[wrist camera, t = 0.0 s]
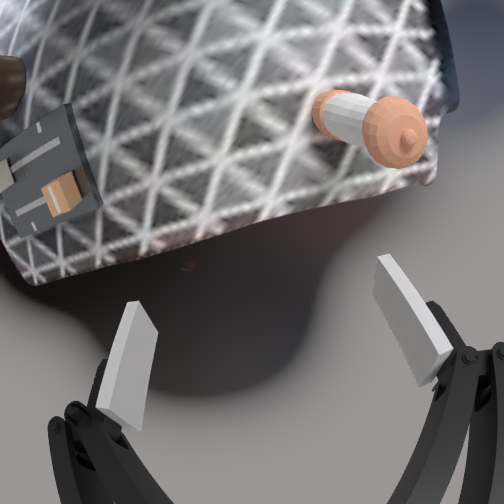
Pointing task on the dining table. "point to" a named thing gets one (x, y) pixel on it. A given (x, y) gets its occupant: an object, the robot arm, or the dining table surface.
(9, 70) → the plant pot
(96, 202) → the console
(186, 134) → the dining table surface
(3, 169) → the fader
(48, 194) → the fader
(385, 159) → the pepper shaker
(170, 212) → the dining table surface
